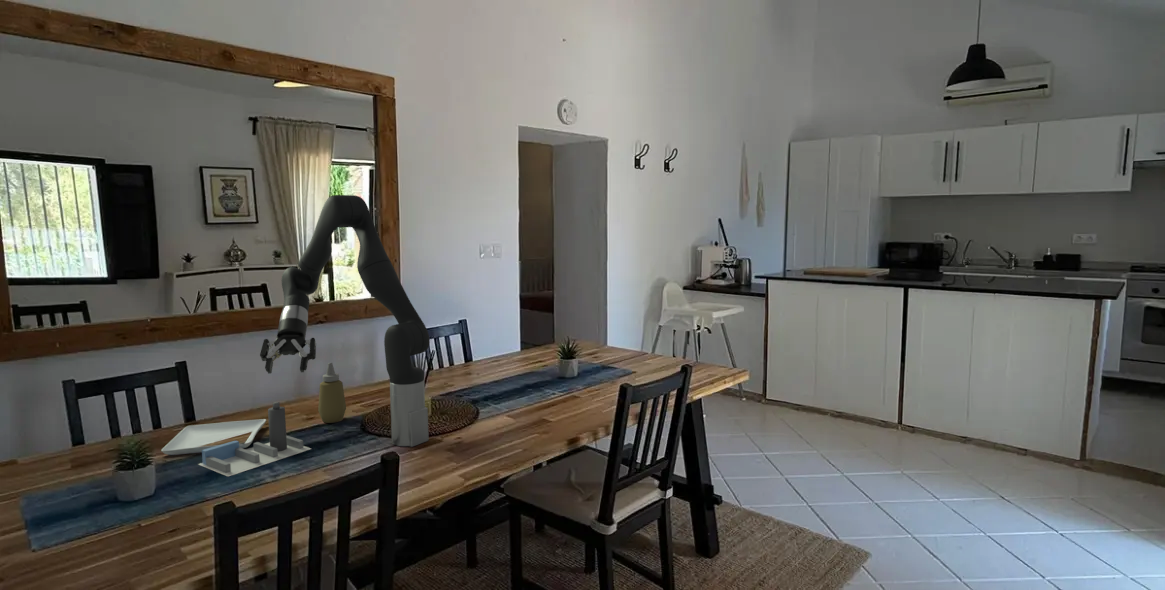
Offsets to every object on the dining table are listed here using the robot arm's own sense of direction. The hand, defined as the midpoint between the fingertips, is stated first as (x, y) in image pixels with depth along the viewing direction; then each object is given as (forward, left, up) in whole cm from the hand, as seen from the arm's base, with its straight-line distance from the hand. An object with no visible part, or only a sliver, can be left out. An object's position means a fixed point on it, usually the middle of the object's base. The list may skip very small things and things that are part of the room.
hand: (285, 371), depth 178 cm
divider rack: (-8, +14, -19) cm, 25 cm away
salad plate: (+13, +13, -20) cm, 27 cm away
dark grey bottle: (-8, +8, -18) cm, 22 cm away
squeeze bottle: (+4, -17, -19) cm, 26 cm away
